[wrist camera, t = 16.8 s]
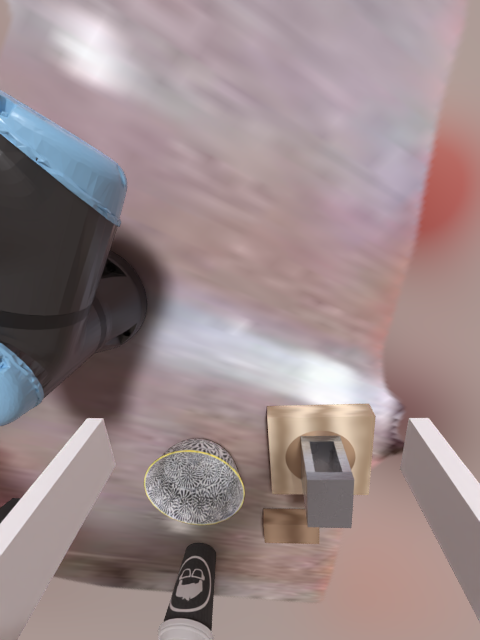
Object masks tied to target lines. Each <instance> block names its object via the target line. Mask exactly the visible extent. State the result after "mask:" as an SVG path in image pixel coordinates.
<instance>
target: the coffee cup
mask: <svg viewBox="0 0 480 640" xmlns="http://www.w3.org/2000/svg"><path fill="white" fill-rule="evenodd" d="M215 564H216V552H215V551H214V549H213V548H212V547H210V546H208V545H206V544H202V543H195V544H191V545H189V546H188V547H187V549H186V552H185V555H184V558H183V561H182V564H181V568H180V571H179V574H178V577H177V581H176V584H175V587H174V590H173V593H172V597H171V600H170V603H169V606H168V609H167V613H166V616H165V619H164V622H163V623H162V624H161V625H160V626H159V631H158V636H159V640H213V634H212V632H211V628H212V610H213V595H214V579H215Z"/></svg>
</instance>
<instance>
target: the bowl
mask: <svg viewBox="0 0 480 640" xmlns="http://www.w3.org/2000/svg"><path fill="white" fill-rule="evenodd" d="M144 488H145V492H146V494H147V497H148V498H149V500H150V502H151V503H152V504H153V505H154V506H155V507H156V508H157V509H158V510H159V511H160V512H162V513H163V514H165V515H166V516H168V517H170V518H172V519H174V520H177V521H180V522H183V523H187V524H193V525H210V524H216V523H219V522H222V521H225V520H227V519H229V518H231V517H232V516H233V515H235V514H236V513H237V512H238V511H239V509H240V508H241V506H242V504H243V502H244V498H245V490H244V485H243V482H242V480H241V478H240V476H239V472H238V469H237V466H236V464H235V462H234V460H233V458H232V457H231V456H230V454H229V453H228V452H227V451H226V450H225V449H224V448H223V447H221V446H220V445H218V444H216V443H215V442H212V441H209V440H206V439H188V440H184V441H182V442H179V443H177V444H176V445H174V446H172V447H171V448H170V449H168V450H167V451H166V452H165V453H164V454H163V455H162V456H161V457H160V458H158V459H157V460H156V461H154V462H153V463H152V464H151V466H150V467H149V468H148V470H147V472H146V475H145V478H144Z"/></svg>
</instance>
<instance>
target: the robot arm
mask: <svg viewBox="0 0 480 640" xmlns="http://www.w3.org/2000/svg"><path fill="white" fill-rule="evenodd" d="M126 192H127V179H126V176H125V174H124V172H123V170H122V169H121V167H120V166H119V165H118V164H117V163H116V162H115V161H113V160H112V159H111V158H109V157H108V156H106V155H105V154H103V153H102V152H100V151H99V150H97V149H96V148H94V147H92V146H91V145H89V144H88V143H86V142H85V141H83V140H81V139H80V138H78V137H77V136H75V135H73V134H72V133H70V132H69V131H67V130H65V129H64V128H62V127H60V126H59V125H57V124H56V123H54V122H52V121H51V120H49V119H48V118H46V117H44V116H43V115H41V114H39V113H38V112H36V111H35V110H33V109H31V108H30V107H28V106H26V105H25V104H23V103H21V102H20V101H18V100H16V99H15V98H13V97H11V96H10V95H8V94H6V93H5V92H3V91H1V90H0V426H3V425H6V424H9V423H11V422H13V421H15V420H16V419H18V418H19V417H20V416H22V415H23V414H25V413H26V412H27V411H29V410H30V409H32V408H34V407H36V406H37V405H39V404H40V403H41V402H42V399H43V398H45V397H46V396H47V395H48V394H49V393H50V392H51V391H52V390H54V389H55V388H56V387H57V386H58V385H59V384H60V383H61V382H63V381H64V380H65V379H66V378H67V377H68V376H69V375H70V374H72V373H73V372H74V371H75V370H76V369H77V368H78V367H79V366H81V365H82V364H83V363H84V362H85V361H86V360H87V359H88V358H90V357H91V356H92V355H93V354H94V353H98V352H101V351H105V350H109V349H112V348H115V347H118V346H120V345H122V344H123V343H125V342H126V341H128V340H129V339H130V338H131V337H132V336H133V335H134V334H135V333H136V332H137V331H138V330H139V328H140V327H141V325H142V323H143V321H144V319H145V315H146V310H147V300H146V294H145V290H144V287H143V284H142V282H141V280H140V278H139V276H138V275H137V273H136V272H135V271H134V269H133V268H132V267H131V266H130V265H129V264H128V263H127V262H126V261H125V260H124V259H122V258H121V257H120V256H118V255H117V254H115V253H113V252H111V251H110V248H111V245H112V242H113V239H114V236H115V233H116V230H117V227H118V226H119V227H120V224H121V220H120V215H121V211H122V207H123V203H124V199H125V196H126ZM115 466H116V463H115V459H114V456H113V452H112V448H111V444H110V441H109V437H108V433H107V430H106V426H105V422H104V418H87V419H86V420H85V421H84V423H83V424H82V425H81V426H80V428H79V429H78V430H77V431H76V432H75V434H74V435H73V436H72V437H71V438H70V440H69V441H68V442H67V443H66V445H65V446H64V447H63V448H62V449H61V451H60V452H59V453H58V454H57V455H56V457H55V458H54V459H53V460H52V462H51V463H50V464H49V465H48V466H47V468H46V469H45V470H44V471H43V472H42V474H41V475H40V476H39V477H38V479H37V480H36V481H35V482H34V483H33V485H32V486H31V487H30V488H29V489H28V491H27V492H26V493H25V494H24V496H23V497H22V498H21V499H20V498H12V499H11V500H10V501H9V502H7V503H6V504H5V505H3V506H2V507H1V508H0V640H17V639H18V637H19V636H20V634H21V632H22V630H23V629H24V627H25V625H26V623H27V622H28V620H29V618H30V616H31V614H32V613H33V611H34V609H35V607H36V606H37V604H38V602H39V600H40V599H41V597H42V595H43V593H44V591H45V589H46V588H47V586H48V584H49V583H50V581H51V579H52V577H53V576H54V574H55V572H56V570H57V569H58V567H59V565H60V563H61V561H62V560H63V558H64V556H65V554H66V553H67V551H68V549H69V547H70V546H71V544H72V542H73V540H74V538H75V537H76V535H77V533H78V531H79V530H80V528H81V526H82V524H83V523H84V521H85V519H86V517H87V515H88V514H89V512H90V510H91V508H92V507H93V505H94V503H95V501H96V500H97V498H98V496H99V494H100V492H101V491H102V489H103V487H104V485H105V484H106V482H107V480H108V478H109V477H110V475H111V473H112V471H113V469H114V468H115ZM400 469H401V471H402V473H403V475H404V477H405V479H406V481H407V483H408V485H409V487H410V489H411V491H412V493H413V495H414V496H415V498H416V500H417V502H418V504H419V506H420V508H421V510H422V512H423V514H424V516H425V518H426V520H427V522H428V524H429V525H430V527H431V529H432V531H433V533H434V535H435V537H436V539H437V541H438V543H439V545H440V547H441V549H442V550H443V552H444V554H445V556H446V558H447V560H448V562H449V564H450V566H451V568H452V570H453V572H454V574H455V576H456V578H457V579H458V581H459V583H460V585H461V587H462V589H463V591H464V593H465V595H466V597H467V599H468V601H469V603H470V605H471V606H472V608H473V610H474V612H475V614H476V616H477V618H478V620H479V622H480V484H479V482H478V481H477V480H476V479H475V477H474V476H473V475H472V474H471V472H470V471H469V470H468V468H467V467H466V466H465V464H464V463H463V462H462V461H461V459H460V458H459V457H458V455H457V454H456V453H455V452H454V450H453V449H452V448H451V446H450V445H449V444H448V443H447V441H446V440H445V439H444V437H443V436H442V435H441V433H440V432H439V431H438V430H437V428H436V427H435V426H434V424H433V423H432V422H431V421H430V419H429V418H409V421H408V427H407V433H406V438H405V444H404V450H403V456H402V461H401V467H400Z"/></svg>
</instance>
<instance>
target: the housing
mask: <svg viewBox="0 0 480 640" xmlns="http://www.w3.org/2000/svg"><path fill="white" fill-rule="evenodd" d="M300 441H301V481H302V489H303V496H304V504H305V511H306V518H307V526H308V527H326V528H351V524H352V510H353V509H352V508H353V494H354V477H353V474H352V471H351V468H350V465H349V462H348V459H347V456H346V453H345V450H344V447H343V444H342V440H341V437H340V436H300Z"/></svg>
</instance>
